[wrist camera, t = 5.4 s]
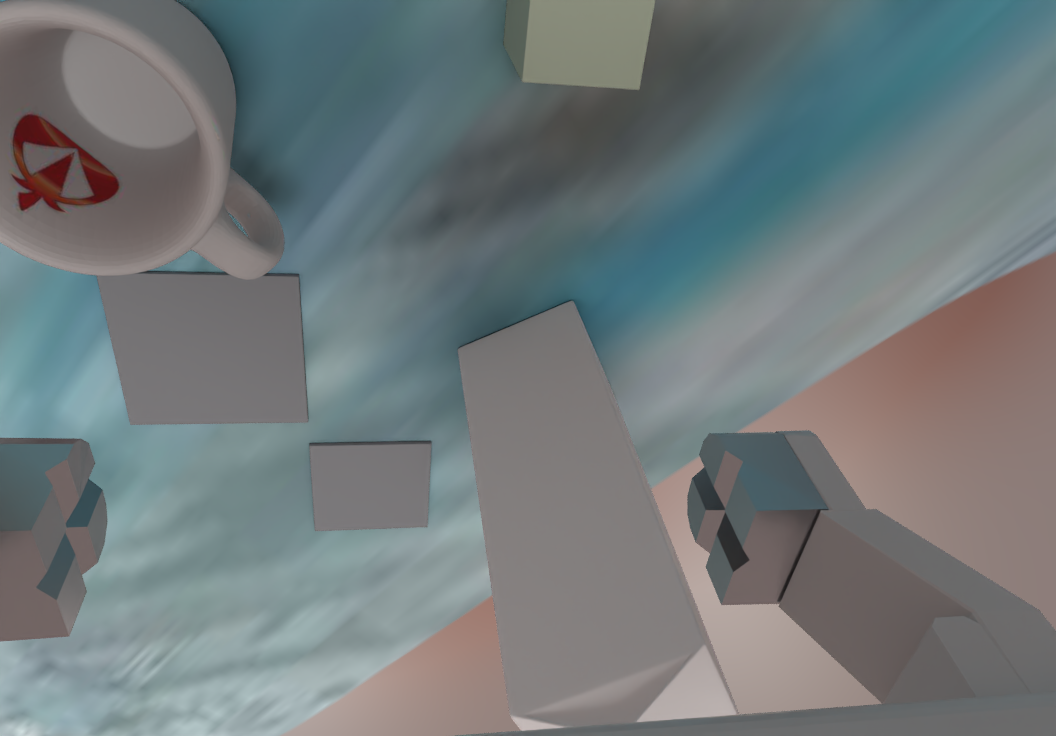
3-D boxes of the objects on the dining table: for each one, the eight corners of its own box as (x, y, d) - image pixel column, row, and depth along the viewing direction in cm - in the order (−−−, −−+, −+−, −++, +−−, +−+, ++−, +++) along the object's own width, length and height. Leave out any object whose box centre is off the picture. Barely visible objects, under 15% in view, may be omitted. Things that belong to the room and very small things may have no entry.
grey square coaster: (431, 441, 41) (431, 443, 41) (426, 524, 44) (427, 526, 44) (309, 443, 40) (309, 446, 40) (315, 528, 43) (314, 531, 43)
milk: (572, 297, 37) (754, 751, 19) (612, 389, 41) (797, 844, 23) (453, 348, 38) (524, 834, 20) (503, 435, 41) (601, 913, 24)
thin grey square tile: (298, 274, 34) (298, 276, 34) (308, 419, 39) (307, 422, 39) (97, 270, 33) (95, 272, 33) (131, 422, 37) (130, 424, 37)
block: (623, -65, 29) (662, -42, 25) (605, 51, 31) (639, 89, 27) (513, -77, 28) (535, -55, 24) (503, 43, 30) (522, 82, 26)
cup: (358, 144, 32) (353, 233, 25) (220, 265, 34) (183, 376, 27) (118, -104, 26) (31, -71, 19) (-31, 60, 28) (-154, 140, 21)
